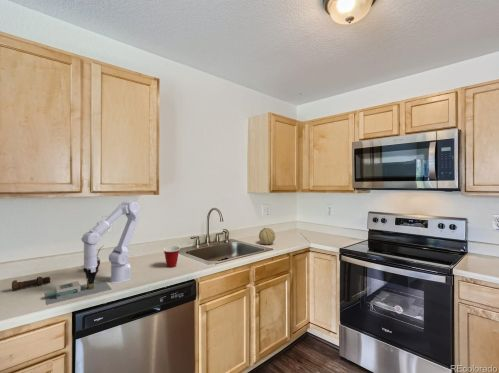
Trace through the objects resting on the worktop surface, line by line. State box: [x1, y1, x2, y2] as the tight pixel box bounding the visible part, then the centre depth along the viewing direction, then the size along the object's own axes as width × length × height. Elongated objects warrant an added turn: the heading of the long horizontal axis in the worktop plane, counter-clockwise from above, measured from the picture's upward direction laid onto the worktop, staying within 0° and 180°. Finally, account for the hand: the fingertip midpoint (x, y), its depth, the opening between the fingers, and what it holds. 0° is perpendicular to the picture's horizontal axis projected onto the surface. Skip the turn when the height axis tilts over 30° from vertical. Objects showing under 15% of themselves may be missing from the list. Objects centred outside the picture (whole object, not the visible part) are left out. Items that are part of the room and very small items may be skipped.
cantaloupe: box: [258, 227, 276, 245], centre depth 232 cm, size 15×15×15 cm
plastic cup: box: [162, 245, 181, 268], centre depth 168 cm, size 11×11×12 cm
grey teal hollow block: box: [45, 280, 81, 299], centre depth 123 cm, size 13×8×4 cm, turn 131°
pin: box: [86, 269, 94, 290], centre depth 131 cm, size 3×3×10 cm
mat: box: [44, 280, 112, 306], centre depth 128 cm, size 26×16×1 cm, turn 131°
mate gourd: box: [96, 244, 105, 270], centre depth 159 cm, size 8×8×15 cm
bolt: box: [11, 276, 51, 292], centre depth 133 cm, size 6×5×15 cm
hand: (90, 282), depth 131 cm, fingers closed on pin, 3 cm apart
